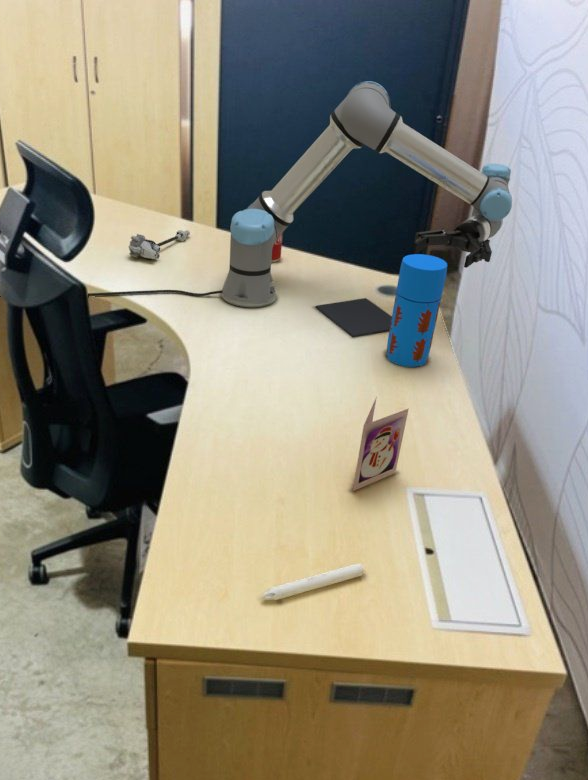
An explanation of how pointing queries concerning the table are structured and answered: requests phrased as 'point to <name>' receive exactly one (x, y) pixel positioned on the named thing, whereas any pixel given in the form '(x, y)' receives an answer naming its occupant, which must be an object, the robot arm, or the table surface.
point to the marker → (313, 582)
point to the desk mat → (357, 316)
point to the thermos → (415, 309)
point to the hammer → (151, 245)
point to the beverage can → (277, 249)
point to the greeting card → (379, 447)
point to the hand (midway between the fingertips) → (440, 255)
